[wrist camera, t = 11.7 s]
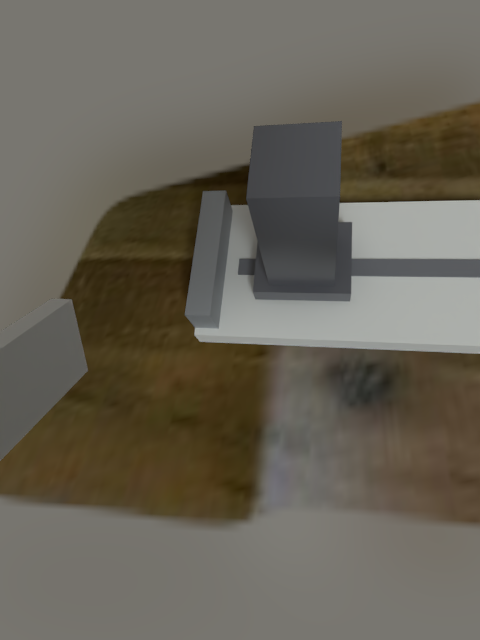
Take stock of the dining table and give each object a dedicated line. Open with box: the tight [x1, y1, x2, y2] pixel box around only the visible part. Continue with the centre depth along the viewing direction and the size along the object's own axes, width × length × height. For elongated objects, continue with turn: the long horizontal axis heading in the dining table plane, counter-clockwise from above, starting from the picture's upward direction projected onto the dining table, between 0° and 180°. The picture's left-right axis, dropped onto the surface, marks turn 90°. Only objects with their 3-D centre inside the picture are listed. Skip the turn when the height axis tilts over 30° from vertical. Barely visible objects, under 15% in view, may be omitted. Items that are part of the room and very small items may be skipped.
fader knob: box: [246, 121, 352, 301], centre depth 24 cm, size 6×5×10 cm
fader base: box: [185, 191, 480, 354], centre depth 27 cm, size 30×10×4 cm, turn 84°
